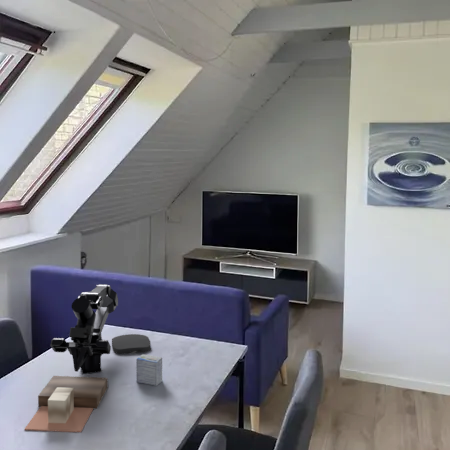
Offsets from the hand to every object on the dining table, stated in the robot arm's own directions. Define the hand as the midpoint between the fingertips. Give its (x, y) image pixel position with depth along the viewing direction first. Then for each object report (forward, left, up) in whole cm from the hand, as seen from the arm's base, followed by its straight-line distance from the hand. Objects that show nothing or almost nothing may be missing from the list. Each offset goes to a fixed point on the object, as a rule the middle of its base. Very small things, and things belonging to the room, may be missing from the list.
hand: (75, 371), depth 169 cm
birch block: (+4, +10, -4) cm, 11 cm away
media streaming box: (-23, -35, -8) cm, 43 cm away
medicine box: (-24, -2, -8) cm, 26 cm away
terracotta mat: (+5, +15, -8) cm, 18 cm away
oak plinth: (+1, +2, -8) cm, 8 cm away
